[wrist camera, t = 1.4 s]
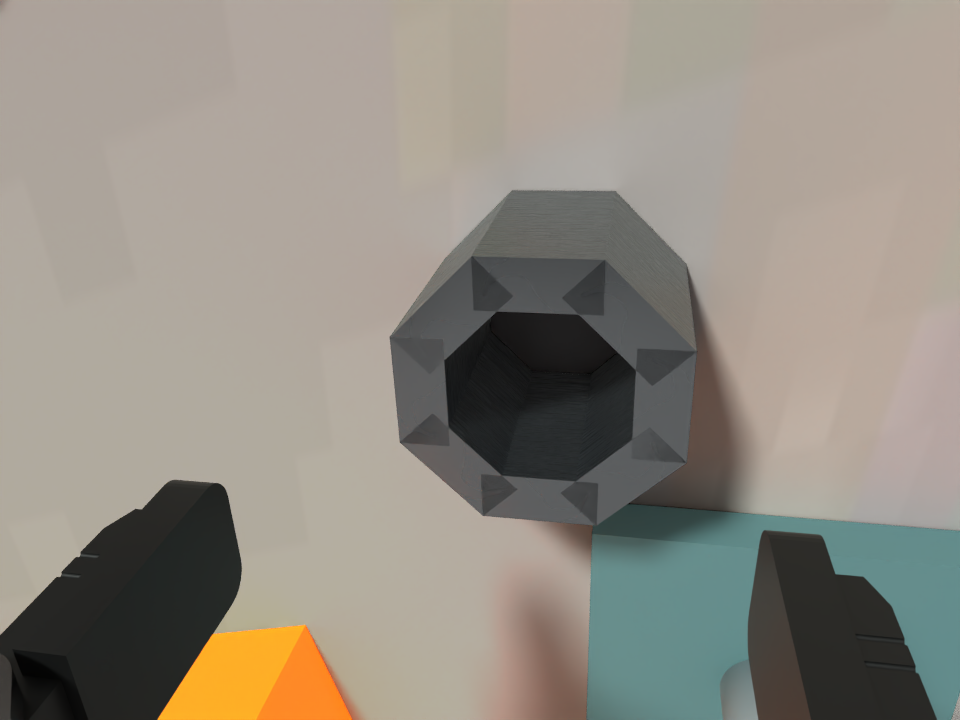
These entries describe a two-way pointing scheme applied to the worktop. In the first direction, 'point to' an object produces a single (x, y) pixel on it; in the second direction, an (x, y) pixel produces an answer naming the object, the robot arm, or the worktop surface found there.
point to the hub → (550, 395)
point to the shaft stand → (742, 607)
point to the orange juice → (258, 680)
